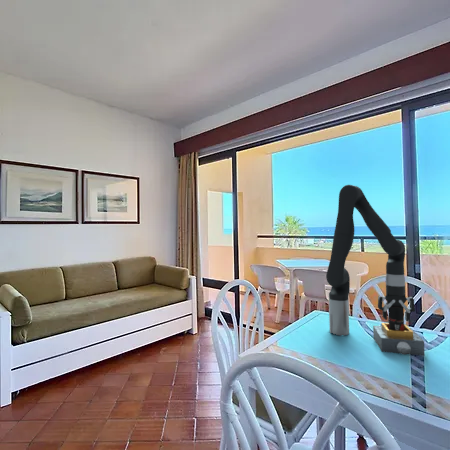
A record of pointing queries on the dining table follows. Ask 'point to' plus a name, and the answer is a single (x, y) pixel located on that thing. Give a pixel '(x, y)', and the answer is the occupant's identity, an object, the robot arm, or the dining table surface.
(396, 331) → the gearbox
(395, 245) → the robot arm
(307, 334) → the dining table surface
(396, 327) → the deodorant
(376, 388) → the dining table surface
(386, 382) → the dining table surface
